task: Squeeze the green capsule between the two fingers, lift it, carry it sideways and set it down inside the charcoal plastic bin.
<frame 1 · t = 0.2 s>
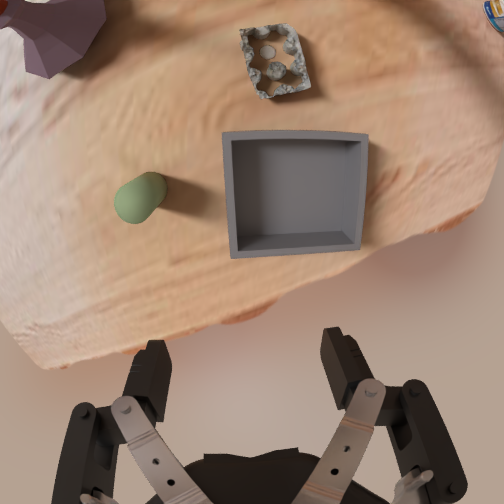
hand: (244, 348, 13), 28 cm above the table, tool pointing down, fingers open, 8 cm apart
green capsule: (150, 188, 37), on the table
flask: (74, 35, 25), on the table
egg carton: (272, 63, 31), on the table
bin: (290, 185, 38), on the table
beverage bottle: (492, 16, 21), on the table
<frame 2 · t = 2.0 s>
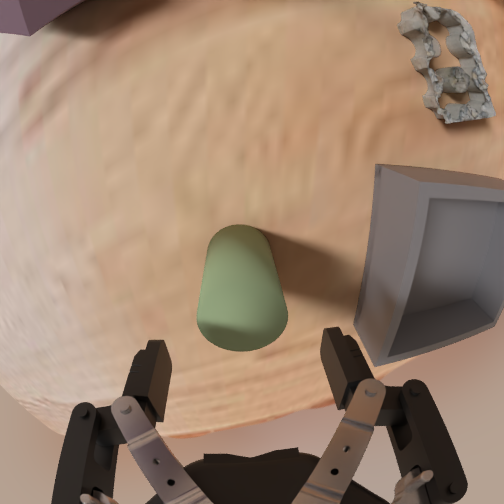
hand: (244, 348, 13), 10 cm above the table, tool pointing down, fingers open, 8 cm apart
green capsule: (239, 254, 22), on the table
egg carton: (436, 63, 15), on the table
bin: (439, 248, 23), on the table
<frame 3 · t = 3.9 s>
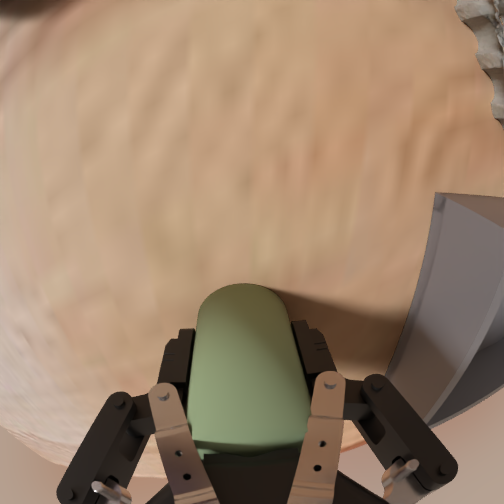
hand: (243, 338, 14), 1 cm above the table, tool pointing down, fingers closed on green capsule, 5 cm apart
green capsule: (242, 321, 15), on the table, touching gripper
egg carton: (496, 59, 9), on the table
bin: (486, 291, 16), on the table
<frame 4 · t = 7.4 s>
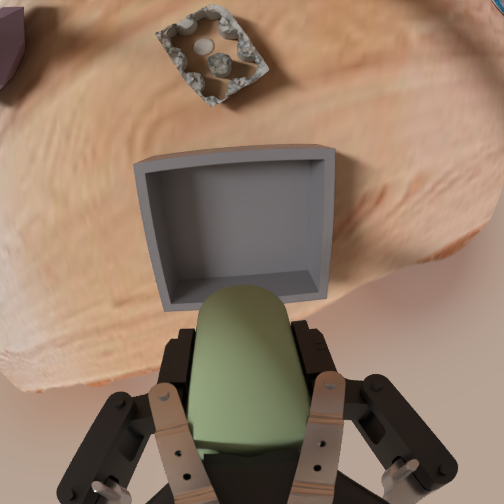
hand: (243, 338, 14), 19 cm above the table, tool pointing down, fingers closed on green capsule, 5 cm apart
green capsule: (242, 322, 15), point 18 cm above the table, touching gripper
flask: (6, 58, 18), on the table
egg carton: (213, 57, 23), on the table
bin: (238, 217, 31), on the table
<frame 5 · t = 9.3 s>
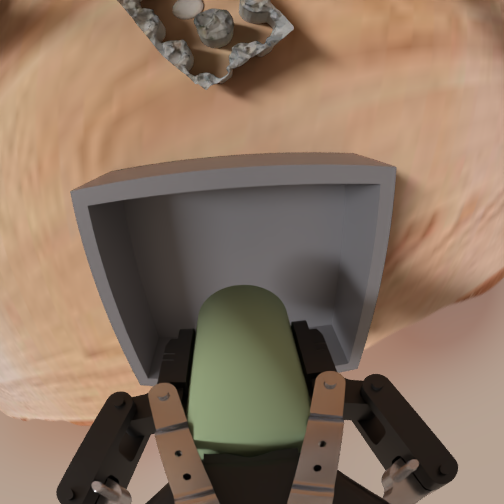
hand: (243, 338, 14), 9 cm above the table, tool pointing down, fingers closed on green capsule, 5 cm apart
green capsule: (242, 322, 15), point 7 cm above the table, touching gripper
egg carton: (204, 20, 14), on the table
bin: (238, 259, 22), on the table
when the fingers open (4 cm above the table, at t = 11.1 s): green capsule drops 2 cm, resting on bin.
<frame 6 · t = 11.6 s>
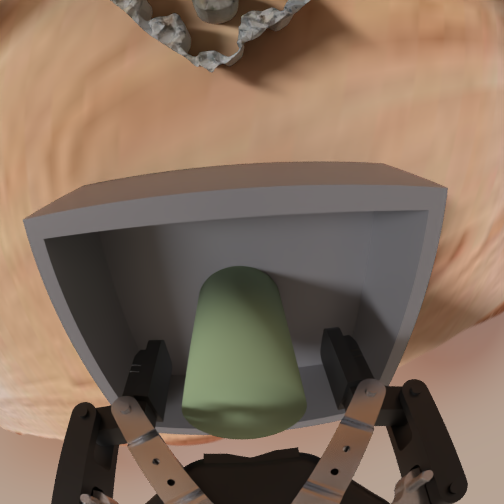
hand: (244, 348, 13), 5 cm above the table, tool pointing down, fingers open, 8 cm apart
green capsule: (239, 301, 17), point 1 cm above the table, touching bin
bin: (240, 291, 18), on the table
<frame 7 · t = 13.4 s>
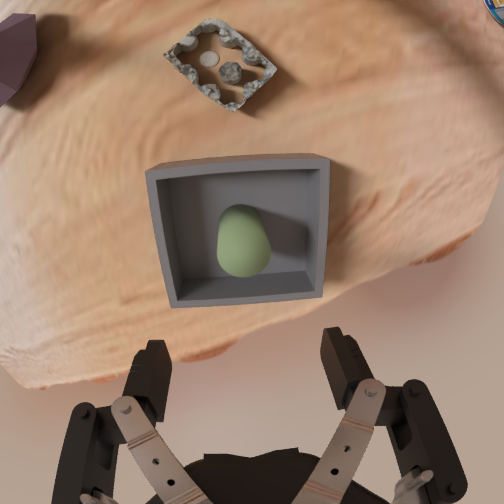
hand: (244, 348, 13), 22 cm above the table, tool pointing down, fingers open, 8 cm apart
green capsule: (240, 224, 33), point 1 cm above the table, touching bin
flask: (17, 64, 20), on the table
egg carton: (221, 66, 26), on the table
bin: (240, 221, 34), on the table
beverage bottle: (492, 7, 16), on the table
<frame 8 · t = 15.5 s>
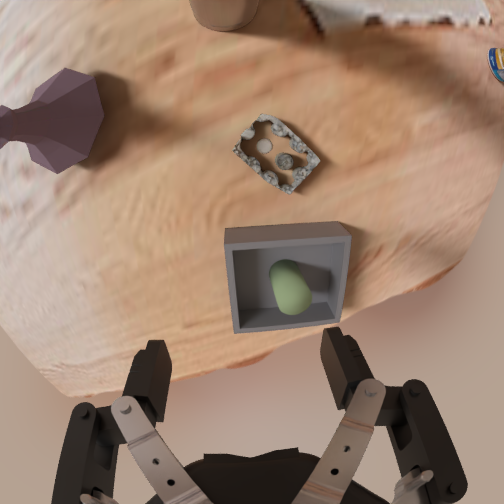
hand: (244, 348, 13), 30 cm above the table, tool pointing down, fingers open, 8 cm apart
green capsule: (283, 272, 45), point 1 cm above the table, touching bin
flask: (73, 119, 32), on the table
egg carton: (273, 151, 38), on the table
bin: (283, 269, 46), on the table
beverage bottle: (495, 64, 29), on the table
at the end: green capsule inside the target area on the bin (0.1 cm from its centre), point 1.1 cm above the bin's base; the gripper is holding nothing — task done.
